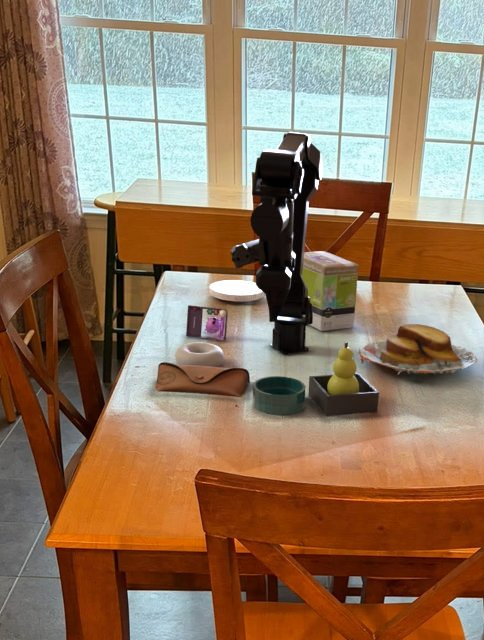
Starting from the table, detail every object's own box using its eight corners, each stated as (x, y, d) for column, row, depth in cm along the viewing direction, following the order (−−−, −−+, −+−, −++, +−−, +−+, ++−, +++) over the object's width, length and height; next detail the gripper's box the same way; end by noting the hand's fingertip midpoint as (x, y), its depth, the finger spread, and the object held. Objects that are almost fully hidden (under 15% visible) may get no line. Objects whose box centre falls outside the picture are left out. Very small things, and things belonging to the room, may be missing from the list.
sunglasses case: (150, 393, 154) (151, 357, 154) (157, 399, 161) (158, 364, 161) (246, 399, 155) (248, 363, 155) (249, 404, 162) (250, 370, 162)
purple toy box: (187, 304, 181) (226, 309, 180) (193, 306, 186) (232, 311, 185) (185, 336, 183) (224, 340, 182) (191, 337, 188) (230, 341, 187)
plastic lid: (275, 299, 212) (276, 289, 211) (235, 308, 203) (235, 298, 202) (239, 286, 220) (239, 277, 218) (198, 295, 211) (198, 285, 209)
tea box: (355, 327, 197) (360, 264, 189) (320, 332, 192) (323, 267, 184) (321, 310, 207) (324, 248, 199) (287, 314, 202) (289, 251, 194)
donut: (167, 369, 167) (215, 375, 165) (166, 352, 165) (214, 358, 163) (185, 353, 175) (230, 359, 173) (184, 337, 173) (230, 343, 172)
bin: (308, 399, 158) (309, 376, 156) (357, 395, 162) (358, 372, 159) (325, 420, 151) (327, 396, 148) (377, 415, 154) (379, 392, 151)
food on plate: (346, 374, 171) (348, 343, 167) (372, 339, 191) (375, 311, 188) (467, 393, 166) (472, 361, 163) (481, 355, 187) (486, 326, 183)
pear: (337, 395, 159) (341, 334, 153) (363, 403, 157) (369, 341, 150) (320, 404, 155) (323, 342, 148) (346, 413, 153) (351, 349, 146)
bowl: (255, 397, 157) (255, 374, 155) (305, 400, 158) (306, 378, 155) (250, 417, 149) (250, 393, 147) (303, 420, 150) (304, 397, 147)
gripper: (239, 214, 158) (239, 296, 167) (227, 235, 143) (228, 325, 151) (296, 219, 159) (294, 300, 167) (291, 240, 143) (288, 329, 152)
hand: (275, 313), depth 160 cm, fingers open, 9 cm apart
